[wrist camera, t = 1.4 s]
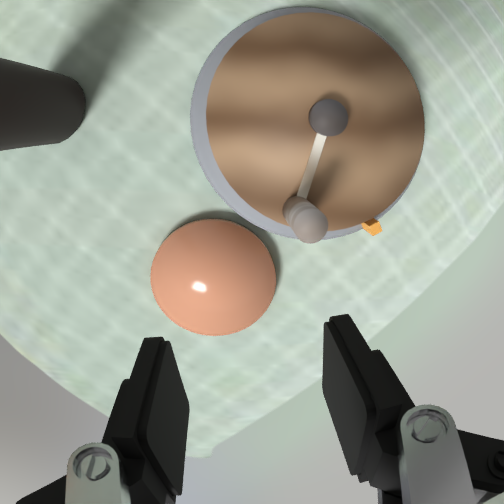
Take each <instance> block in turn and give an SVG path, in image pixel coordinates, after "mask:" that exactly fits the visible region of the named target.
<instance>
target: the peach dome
mask: <svg viewBox="0 0 504 504" xmlns="http://www.w3.org/2000/svg"><path fill="white" fill-rule="evenodd" d="M151 287H152V291H153V294H154V297H155V299H156V301H157V304H158V305H159V307H160V308H161V310H162V311H163V312H164V313H165V314H166V316H167V317H168V318H170V319H171V320H172V321H173V322H174V323H176V324H177V325H179V326H180V327H182V328H184V329H186V330H189V331H191V332H194V333H197V334H202V335H210V336H220V335H227V334H232V333H235V332H238V331H241V330H243V329H245V328H247V327H249V326H250V325H252V324H253V323H254V322H256V321H257V320H258V319H259V318H260V317H261V316H262V315H263V314H264V312H265V311H266V310H267V308H268V307H269V305H270V303H271V301H272V299H273V296H274V292H275V287H276V273H275V267H274V264H273V261H272V258H271V255H270V253H269V251H268V249H267V248H266V246H265V245H264V243H263V242H262V241H261V240H260V239H259V237H258V236H256V235H255V234H254V233H253V232H252V231H250V230H249V229H247V228H246V227H244V226H242V225H240V224H238V223H235V222H232V221H229V220H224V219H214V218H211V219H201V220H196V221H193V222H190V223H187V224H185V225H183V226H181V227H179V228H178V229H176V230H175V231H173V232H172V233H171V234H170V235H169V236H168V237H167V238H166V239H165V240H164V242H163V243H162V244H161V246H160V248H159V249H158V251H157V253H156V255H155V257H154V260H153V263H152V267H151Z"/></svg>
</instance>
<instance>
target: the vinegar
mask: <svg viewBox="0 0 504 504" xmlns="http://www.w3.org/2000/svg"><path fill="white" fill-rule="evenodd" d="M84 112H85V97H84V93H83V90H82V88H81V87H80V85H79V84H78V82H77V81H75V80H73V79H72V78H70V77H68V76H65V75H61V74H58V73H55V72H51V71H48V70H44V69H41V68H37V67H34V66H30V65H26V64H22V63H19V62H15V61H11V60H7V59H2V58H0V151H2V150H9V149H16V148H23V147H31V146H39V145H47V144H55V143H60V142H62V141H64V140H66V139H68V138H69V137H70V136H71V135H72V134H73V133H74V132H75V131H76V130H77V128H78V127H79V125H80V123H81V121H82V119H83V115H84Z"/></svg>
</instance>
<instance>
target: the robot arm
mask: <svg viewBox="0 0 504 504" xmlns="http://www.w3.org/2000/svg"><path fill="white" fill-rule="evenodd" d="M322 388H323V394H324V397H325V400H326V403H327V406H328V409H329V412H330V414H331V417H332V421H333V424H334V426H335V429H336V432H337V435H338V438H339V441H340V444H341V447H342V450H343V453H344V456H345V459H346V462H347V465H348V468H349V471H350V474H351V475H357V476H358V479H359V482H360V483H362V482H365V481H369V483H370V486H373V487H375V488H377V489H378V504H504V441H503V440H499V439H494V438H489V437H485V436H481V435H477V434H473V433H469V432H465V431H461V430H458V429H457V428H456V425H455V422H454V420H453V418H452V416H451V415H450V414H449V413H448V412H447V411H446V410H445V409H443V408H441V407H439V406H434V405H420V406H415V405H414V403H413V402H412V400H411V399H410V397H409V395H408V393H407V392H406V390H405V388H404V387H403V385H402V384H401V382H400V381H399V379H398V377H397V376H396V374H395V372H394V371H393V369H392V368H391V366H390V365H389V363H388V361H387V360H386V358H385V357H384V355H383V354H382V352H381V351H380V350H373V351H371V349H370V348H369V346H368V345H367V343H366V341H365V340H364V338H363V336H362V335H361V333H360V331H359V330H358V328H357V327H356V325H355V323H354V322H353V320H352V319H351V317H350V316H349V314H344V315H338V316H332V317H330V319H329V322H325V323H324V342H323V379H322ZM188 420H189V402H188V398H187V395H186V392H185V389H184V386H183V383H182V380H181V377H180V373H179V370H178V367H177V363H176V360H175V357H174V353H173V350H172V346H171V343H170V341H164V338H163V337H150V338H144V340H143V342H142V345H141V348H140V351H139V353H138V356H137V359H136V362H135V365H134V367H133V370H132V373H131V376H130V379H125V380H123V382H122V384H121V386H120V389H119V392H118V395H117V398H116V400H115V403H114V406H113V409H112V412H111V415H110V418H109V421H108V424H107V427H106V430H105V433H104V436H103V439H102V442H101V443H89V444H85V445H83V446H81V447H79V448H78V449H77V450H76V451H74V452H73V453H72V455H71V457H70V458H69V461H68V465H67V475H65V476H63V477H62V478H60V479H58V480H56V481H54V482H52V483H51V484H49V485H47V486H45V487H43V488H41V489H39V490H37V491H35V492H33V493H31V494H29V495H27V496H25V497H24V498H22V499H20V500H19V501H17V503H16V504H175V502H176V495H181V494H182V486H183V474H184V461H185V451H186V440H187V430H188Z"/></svg>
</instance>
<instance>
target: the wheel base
mask: <svg viewBox="0 0 504 504" xmlns="http://www.w3.org/2000/svg"><path fill="white" fill-rule="evenodd" d="M307 12H315V13H325V14H331V15H335V16H339V17H343V18H346V19H348V20H351V21H354V22H356V23H358V24H360V25H362V26H364V27H366V28H368V29H369V30H371V31H372V32H374V33H375V34H376V35H378V34H377V33H376V32H375V31H373V30H372V29H370V28H369V27H367V26H366V25H364V24H363V23H361V22H359V21H357V20H355V19H353V18H351V17H348V16H346V15H343V14H340V13H337V12H334V11H329V10H325V9H320V8H309V7H295V8H285V9H279V10H274V11H271V12H267V13H264V14H261V15H258V16H256V17H254V18H252V19H250V20H248V21H246V22H244V23H243V24H241V25H240V26H238V27H237V28H235V29H234V30H233V31H231V32H230V33H229V34H228V35H227V36H226V37H225V38H223V39H222V40H221V41H220V42H219V44H218V45H217V46H216V47H215V48H214V50H213V51H212V52H211V53H210V55H209V56H208V58H207V60H206V61H205V63H204V65H203V67H202V68H201V71H200V73H199V76H198V78H197V81H196V83H195V87H194V91H193V95H192V101H191V111H190V123H191V134H192V140H193V145H194V149H195V152H196V155H197V158H198V161H199V164H200V166H201V168H202V170H203V172H204V174H205V176H206V178H207V179H208V181H209V182H210V184H211V185H212V187H213V188H214V190H215V191H216V193H217V194H218V195H219V196H220V197H221V198H222V199H223V200H224V202H225V203H226V204H227V205H228V206H229V207H231V208H232V209H233V210H234V211H235V212H236V213H237V214H239V215H240V216H242V217H243V218H245V219H246V220H248V221H249V222H251V223H252V224H254V225H256V226H258V227H260V228H262V229H264V230H266V231H269V232H272V233H275V234H277V235H280V236H284V237H289V238H294V239H298V237H297V236H296V235H295V233H294V232H293V230H292V229H291V227H289V226H286V225H283V224H281V223H278V222H276V221H274V220H272V219H270V218H268V217H266V216H264V215H262V214H261V213H259V212H258V211H257V210H255V209H254V208H252V207H251V206H250V205H249V204H247V203H246V202H245V201H244V200H243V199H242V198H241V197H240V196H239V195H238V194H237V193H236V192H235V191H234V189H233V188H232V187H231V186H230V185H229V183H228V182H227V180H226V179H225V177H224V176H223V174H222V173H221V171H220V169H219V167H218V165H217V163H216V160H215V158H214V156H213V153H212V150H211V146H210V143H209V138H208V133H207V125H206V107H207V97H208V93H209V89H210V85H211V81H212V79H213V77H214V74H215V72H216V69H217V67H218V66H219V64H220V62H221V61H222V59H223V57H224V56H225V54H226V53H227V52H228V51H229V49H230V48H231V47H232V46H233V45H234V44H235V43H236V42H237V41H238V40H239V39H240V38H241V37H242V36H243V35H244V34H246V33H247V32H249V31H250V30H252V29H253V28H255V27H256V26H258V25H260V24H262V23H264V22H266V21H268V20H271V19H274V18H277V17H280V16H283V15H288V14H294V13H307ZM378 36H379V37H381V36H380V35H378ZM381 38H382V37H381ZM382 39H383V38H382ZM383 40H384V39H383ZM384 41H385V40H384ZM385 42H386V43H387V44H389V43H388V42H387V41H385ZM392 49H393V48H392ZM393 50H394V49H393ZM394 51H395V50H394ZM395 52H396V51H395ZM396 53H397V52H396ZM397 54H398V53H397ZM402 61H403V60H402ZM422 149H423V148H422ZM420 158H421V157H420ZM419 162H420V160H419ZM418 165H419V163H418ZM417 167H418V166H417ZM416 170H417V168H416ZM415 172H416V171H415ZM414 175H415V173H414ZM414 175H413V177H414ZM413 177H412V179H413ZM412 179H411V180H410V182H409V184H408V185H407V187H406V188H405V190H404V191H403V192H402V194H401V195H400V196H399V197H398V198H397V199H396V200H395V201H394V202H393V203H392V204H391V205H390V206H389V207H388V208H386V209H385V210H384V211H383V212H381V213H380V214H378V215H377V216H375V217H374V218H372V219H370V220H368V221H366V222H364V223H361V224H359V225H356V226H353V227H350V228H346V229H341V230H335V231H327V233H326V235H325V236H324V237H323V238H322V239H321V240H323V239H331V238H336V237H341V236H345V235H348V234H351V233H354V232H356V231H358V230H360V229H364V230H366V231H367V232H368V233H370V234H371V235H372V236H374V235H376V234H378V233H379V232H381V231H382V229H381V226H380V223H379V221H377V220H378V219H379V218H381V217H382V216H383V215H384V214H385V213H387V212H388V211H389V210H390V209H391V208H392V207H393V206H394V205H395V204H396V203H397V202H398V201H399V199H400V198H401V197H402V195H403V194H404V192H405V191H406V190H407V188H408V186H409V185H410V183H411V181H412Z"/></svg>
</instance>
